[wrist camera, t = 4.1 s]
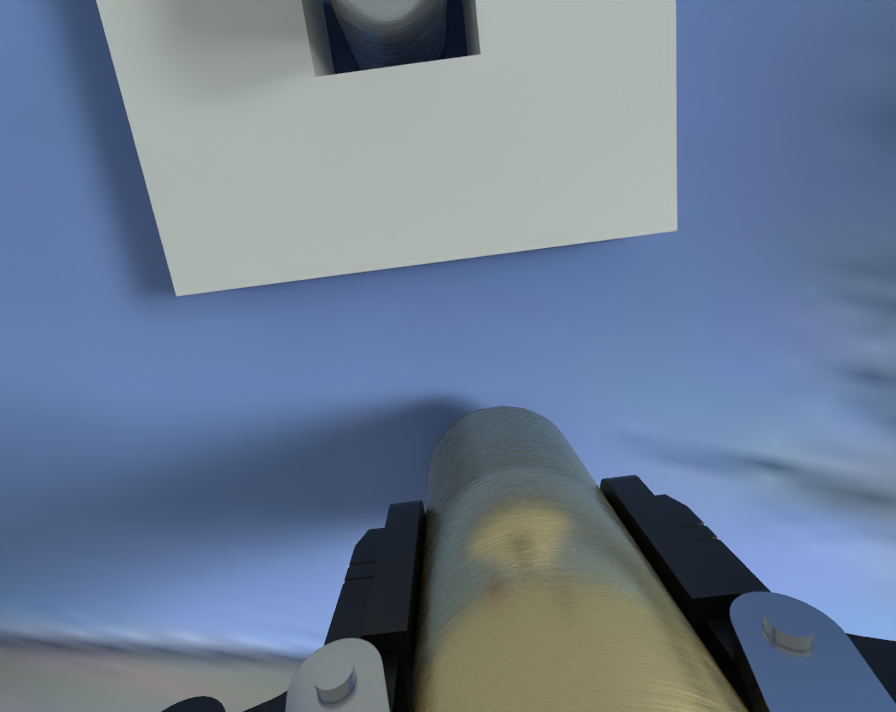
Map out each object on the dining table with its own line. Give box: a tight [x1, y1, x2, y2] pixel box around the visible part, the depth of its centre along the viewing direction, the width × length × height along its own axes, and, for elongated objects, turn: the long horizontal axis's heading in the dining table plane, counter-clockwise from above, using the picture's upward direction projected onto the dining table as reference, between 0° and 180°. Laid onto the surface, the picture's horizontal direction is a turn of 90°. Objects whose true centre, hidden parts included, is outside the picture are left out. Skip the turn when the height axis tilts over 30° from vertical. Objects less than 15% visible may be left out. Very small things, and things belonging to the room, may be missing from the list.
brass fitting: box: [409, 406, 749, 712], centre depth 8 cm, size 4×4×9 cm
